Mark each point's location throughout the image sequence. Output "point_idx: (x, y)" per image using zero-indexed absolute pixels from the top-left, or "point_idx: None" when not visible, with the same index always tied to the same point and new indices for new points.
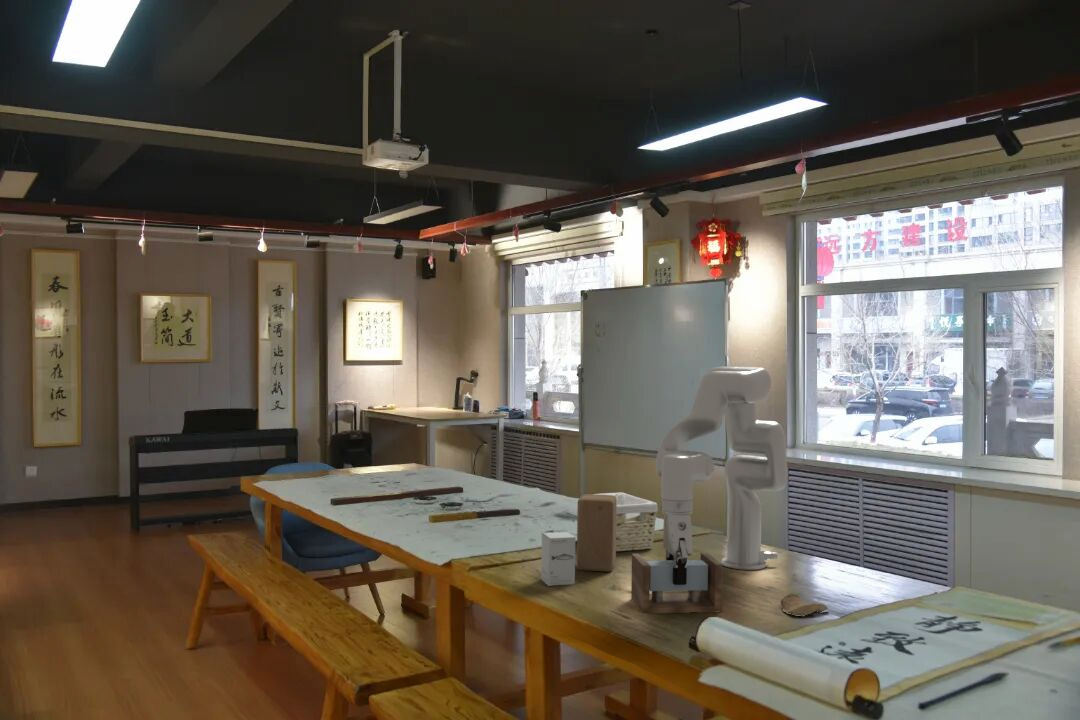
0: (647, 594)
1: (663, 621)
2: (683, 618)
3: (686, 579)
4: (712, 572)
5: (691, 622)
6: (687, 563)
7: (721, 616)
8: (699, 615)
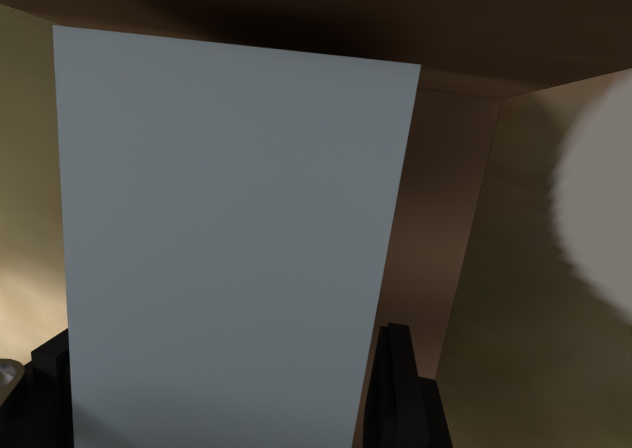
0: None
1: (554, 443)
2: (542, 333)
3: (412, 345)
4: (507, 40)
5: (629, 325)
6: (251, 356)
7: (590, 98)
8: (521, 225)
